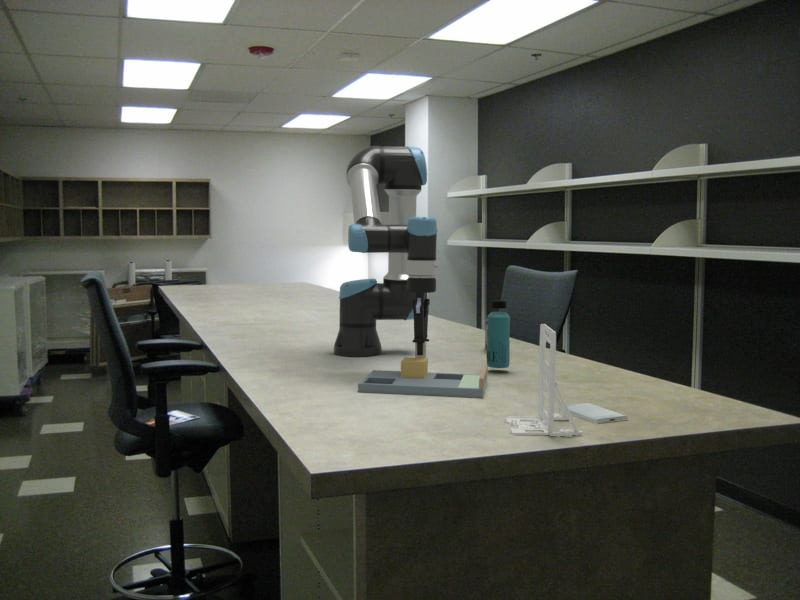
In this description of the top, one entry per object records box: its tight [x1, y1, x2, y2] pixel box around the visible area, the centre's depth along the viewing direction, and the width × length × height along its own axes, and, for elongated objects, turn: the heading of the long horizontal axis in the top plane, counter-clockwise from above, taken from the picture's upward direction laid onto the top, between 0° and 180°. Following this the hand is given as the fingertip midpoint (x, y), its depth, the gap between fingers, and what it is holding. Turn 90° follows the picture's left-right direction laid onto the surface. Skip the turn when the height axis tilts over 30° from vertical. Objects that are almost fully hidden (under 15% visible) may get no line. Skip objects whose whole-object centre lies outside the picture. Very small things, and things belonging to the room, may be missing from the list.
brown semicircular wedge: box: [484, 318, 488, 353], centre depth 242 cm, size 12×6×10 cm, turn 179°
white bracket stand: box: [503, 323, 584, 438], centre depth 148 cm, size 14×14×20 cm
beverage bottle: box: [486, 299, 511, 369], centre depth 207 cm, size 6×7×20 cm
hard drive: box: [558, 402, 629, 424], centre depth 159 cm, size 2×8×12 cm
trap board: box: [357, 364, 489, 399], centre depth 186 cm, size 30×18×4 cm, turn 80°
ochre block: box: [400, 357, 429, 378], centre depth 191 cm, size 6×6×4 cm
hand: (420, 366), depth 195 cm, fingers closed
